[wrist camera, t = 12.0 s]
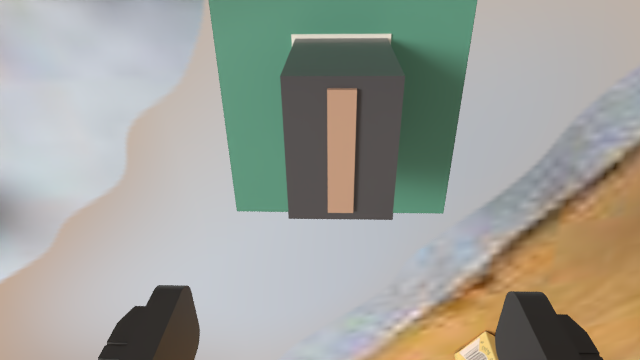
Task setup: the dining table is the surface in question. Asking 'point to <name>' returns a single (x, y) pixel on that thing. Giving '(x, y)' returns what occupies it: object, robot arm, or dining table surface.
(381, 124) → the block
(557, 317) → the robot arm
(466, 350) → the candy box
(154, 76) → the dining table surface
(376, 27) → the header board
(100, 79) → the dining table surface
